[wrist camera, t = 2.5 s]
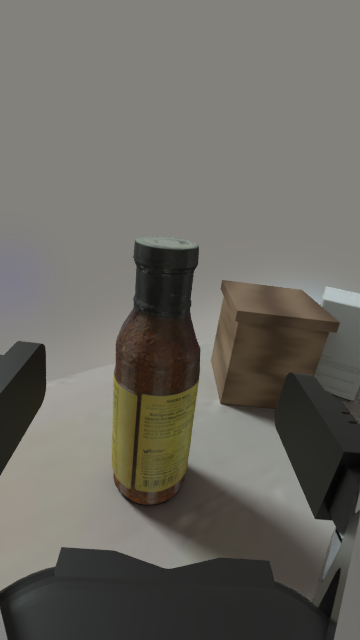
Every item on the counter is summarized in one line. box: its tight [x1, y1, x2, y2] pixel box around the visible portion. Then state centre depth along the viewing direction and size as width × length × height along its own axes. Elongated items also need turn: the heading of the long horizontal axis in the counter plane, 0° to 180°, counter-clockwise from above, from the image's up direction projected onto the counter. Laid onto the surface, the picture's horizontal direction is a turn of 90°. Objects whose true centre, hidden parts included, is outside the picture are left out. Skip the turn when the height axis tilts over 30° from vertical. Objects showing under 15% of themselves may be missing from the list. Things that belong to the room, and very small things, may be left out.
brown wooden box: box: [211, 280, 340, 409], centre depth 41 cm, size 11×11×12 cm
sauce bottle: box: [112, 236, 200, 505], centre depth 24 cm, size 7×6×20 cm
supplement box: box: [314, 286, 360, 401], centre depth 44 cm, size 7×7×13 cm
